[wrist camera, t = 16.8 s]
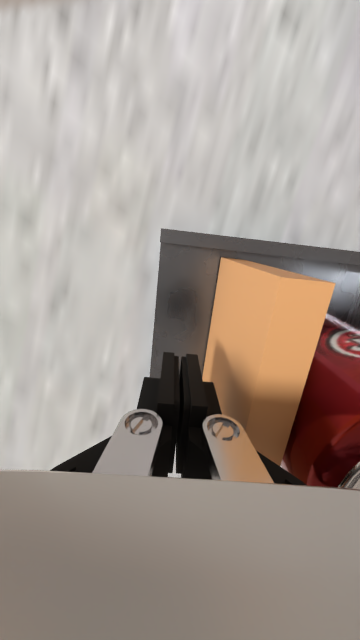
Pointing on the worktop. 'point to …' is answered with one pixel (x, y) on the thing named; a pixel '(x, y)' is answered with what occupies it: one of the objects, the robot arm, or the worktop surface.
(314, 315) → the sliding jaw
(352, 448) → the soda can
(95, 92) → the worktop surface
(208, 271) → the clamp bed
